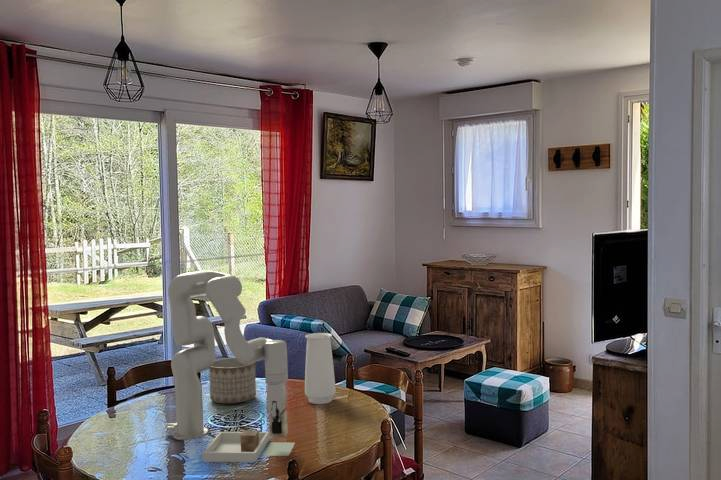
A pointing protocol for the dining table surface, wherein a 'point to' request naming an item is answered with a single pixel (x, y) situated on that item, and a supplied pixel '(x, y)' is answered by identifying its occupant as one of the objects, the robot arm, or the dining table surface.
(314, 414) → the dining table surface
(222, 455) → the bin
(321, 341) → the vase
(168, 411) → the dining table surface
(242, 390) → the planter
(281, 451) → the pad
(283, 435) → the birch box
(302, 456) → the dining table surface
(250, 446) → the walnut block
